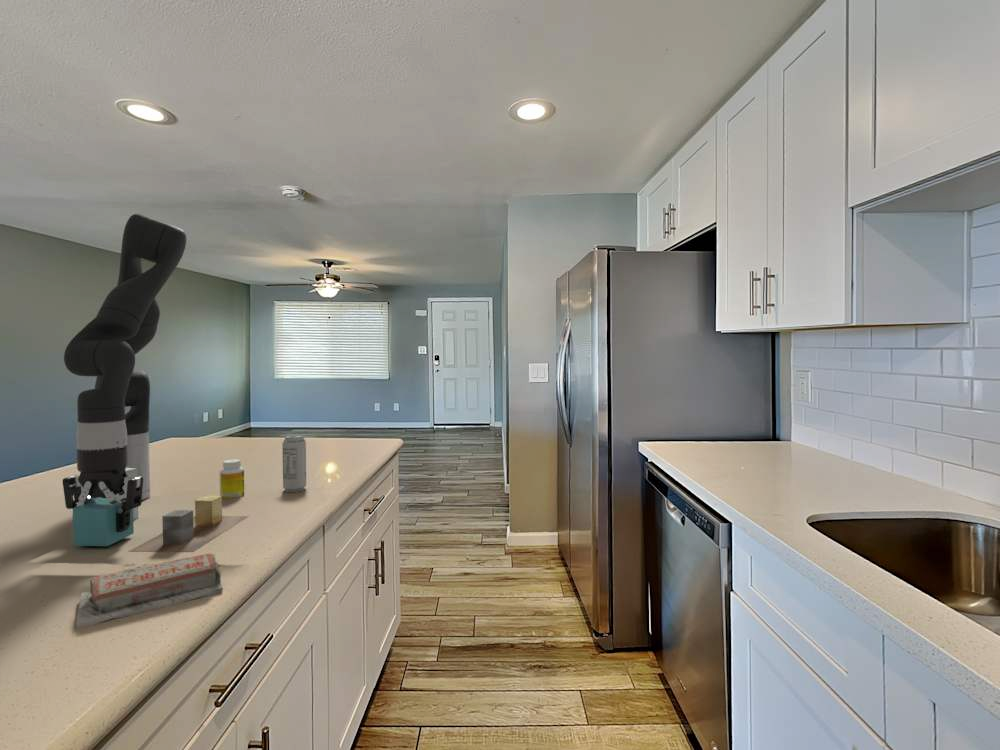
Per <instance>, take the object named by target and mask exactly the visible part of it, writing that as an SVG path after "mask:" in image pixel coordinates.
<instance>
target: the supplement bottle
mask: <svg viewBox="0 0 1000 750" xmlns="http://www.w3.org/2000/svg"><path fill="white" fill-rule="evenodd" d="M241 464H242V463H241V460H240V459H236V458H234V459H227V460H224V461H223V462H222V468H221V469H220V470H219V496H222V498H225V499H226V498H237V497H238V498H240V497H241V498H244V497H245V468H244V467H243V466H241Z"/></svg>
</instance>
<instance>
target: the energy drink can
mask: <svg viewBox="0 0 1000 750" xmlns="http://www.w3.org/2000/svg"><path fill="white" fill-rule="evenodd" d="M305 487H307V442H306V440H305V437H304V435H302V434H292V435H291V434H290V435H286V436H284V440H283V441H282V488H283V489H284V490H285V492H287V493H298V491H299V492H302V491H304V490H305Z"/></svg>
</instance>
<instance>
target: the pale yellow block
mask: <svg viewBox="0 0 1000 750" xmlns="http://www.w3.org/2000/svg"><path fill="white" fill-rule="evenodd" d="M194 514H195V515H194V516H195V526H206V527H213V526H214V525H216V524H218V523H219V522H221V521H222V516H223V497H222V496H220V495H204V496H201V497H200V498H198V499H195V500H194Z"/></svg>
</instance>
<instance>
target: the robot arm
mask: <svg viewBox="0 0 1000 750" xmlns="http://www.w3.org/2000/svg"><path fill="white" fill-rule="evenodd" d="M186 244H187V234H186V232H185V230H183V229H181V228H179V227H177V226H175V225H173V224H169V223H167V222H164V221H160V220H158V219H156V218H153V217H151V216H147V215H143V214H140V213H135V214H132V215H131V216H129V218H128V219H127V221H126V223H125V227H124V230H123V235H122V241H121V248H120V249H121V251H120V260H119V261H120V262H119V271H118V280H117V284H116V286H115V287H113V289H111V290H110V291H109V293H108V294H107V296H106V297H105V299H104V300H103V302H102V305H101V306H100V308H99V310H98V312H97V314H96V316H95V317H94V318H93V319H91V321H89V322H88V323H87V324H86V325H85V326H84V327H83V328H82V329H81V330H80V331H78V333H77V334H76V335H75V336H74V337H73V338H72V339H71V340H70V341H69V342H68V343H67V345H66V347H65V350H64V354H63V362H64V366H65V368H66V369H67V371H68V372H70V373H71V374H73V375H76V376H80V377H96V380H95V383H94V388H92V389H91V388H90V389H86V390H82V392H79V394H78V395H77V400H76V401H77V403H76V405H77V429H76V437H75V438H76V469H77V471H78V472H80V473H79V474H74V475H70V476H67V477H64V478H63V479H62V487H63V495H64V504H65V508H66V509H67V510H70V509H71V510H73V508H75V507H78V506H80V505H86V504H87V503H89V502H94V501H95V500H96V499H97V498H98V497H101V498H107V500H108V501H109V503H110V504H113V506H115V510H116V512H117V514H116V531H117V532H123V531H125V530H127V529H128V527H129V526H130V510H132V509H134V508H136V507H138V508H140V507H141V505H142V501H143V500H145V499H148V498H150V496H151V475H150V474H151V470H150V468H151V466H150V437H149V436H150V434H149V433H150V430H149V427H150V426H149V425H150V402H151V401H150V399H151V384H150V383H151V382H150V381H151V380H150V378H149V376H148V374H147V373H146V372H145V371H143V370H135V366H136V355H137V354H138V353H139V352H141V350H144V348H145V347H147V345H148V344H150V342H151V341H152V340H153V339H154V338H155V335H156V332H157V329H158V324H159V321H160V315H161V312H160V311H161V310H160V305H159V303H158V301H157V299H156V297H157V295H159V294H158V293H159V292H160V291H161V289H162V288H163V287H164V286H165V284H166V282H167V281H168V280H169V279H170V277H171V276H172V275H173V274H172V273H174V271H175V269H176V268H177V266H178V265H179V263H180V261H181V259H182V258H183V256H184V254H185V253H184V252H185V249H186ZM142 260H145V261H148V262H151V263H154V264H153V266H152V267H151V268H148V270H145V271H143V266H142V265H143V264H142ZM126 407H128V408H129V407H130V409H129V411H127V413H126ZM126 468H136V469H137V477H136V478H134V477H128V476H127V474H126V471H125V469H126ZM125 484H126V486H125V487H124V485H125ZM81 485H82V487H83V488H84V489H83V491H81ZM125 488H127V491H126V489H125ZM118 493H119V496H118V497H117V496H115V495H117V494H118ZM120 501H121V502H122V503H123V505H122V504H121V502H120Z"/></svg>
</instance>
